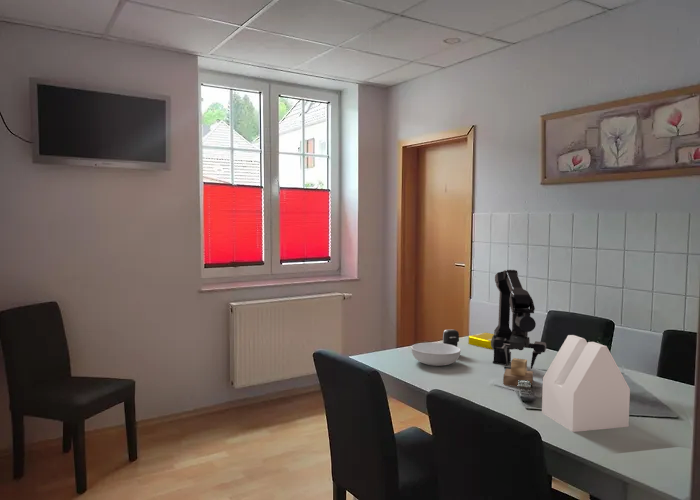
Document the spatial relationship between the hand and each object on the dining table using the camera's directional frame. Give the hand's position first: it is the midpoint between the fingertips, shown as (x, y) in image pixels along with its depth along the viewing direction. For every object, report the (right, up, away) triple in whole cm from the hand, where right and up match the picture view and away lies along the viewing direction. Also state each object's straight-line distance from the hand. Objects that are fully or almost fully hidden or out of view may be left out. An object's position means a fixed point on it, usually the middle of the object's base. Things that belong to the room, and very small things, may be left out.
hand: (518, 366), depth 199 cm
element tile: (+5, -3, +61) cm, 62 cm away
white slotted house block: (+9, -9, -36) cm, 38 cm away
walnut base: (0, -7, 0) cm, 6 cm away
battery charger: (-18, -4, +40) cm, 44 cm away
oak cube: (0, -2, 0) cm, 2 cm away
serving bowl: (-27, -5, +26) cm, 38 cm away
